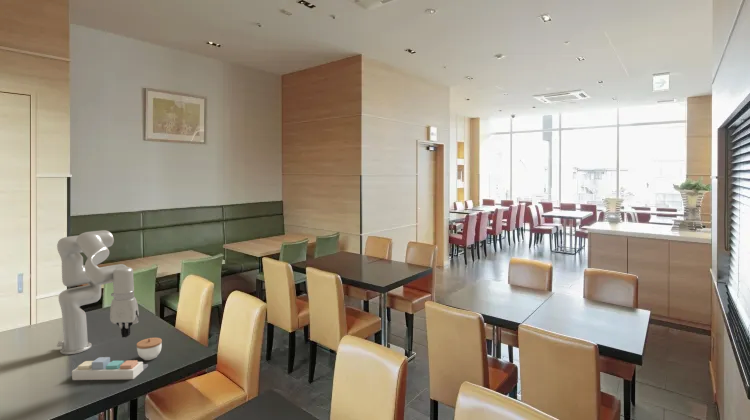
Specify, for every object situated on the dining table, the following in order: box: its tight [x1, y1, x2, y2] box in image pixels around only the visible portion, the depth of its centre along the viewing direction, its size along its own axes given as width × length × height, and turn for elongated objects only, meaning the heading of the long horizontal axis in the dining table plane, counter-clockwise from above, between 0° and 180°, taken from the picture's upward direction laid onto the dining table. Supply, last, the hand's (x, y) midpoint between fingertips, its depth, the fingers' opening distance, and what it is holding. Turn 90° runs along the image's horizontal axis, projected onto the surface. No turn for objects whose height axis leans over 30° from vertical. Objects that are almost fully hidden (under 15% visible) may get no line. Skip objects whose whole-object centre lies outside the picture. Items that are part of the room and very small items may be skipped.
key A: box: [120, 359, 139, 369], centre depth 173 cm, size 5×5×5 cm
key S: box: [92, 356, 111, 370], centre depth 173 cm, size 5×5×5 cm
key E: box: [77, 360, 94, 370], centre depth 173 cm, size 5×5×5 cm
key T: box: [106, 360, 125, 369], centre depth 173 cm, size 5×5×5 cm
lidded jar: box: [136, 337, 163, 361], centre depth 190 cm, size 11×11×9 cm
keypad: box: [71, 361, 149, 381], centre depth 175 cm, size 26×12×4 cm, turn 92°
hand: (126, 336), depth 173 cm, fingers closed
